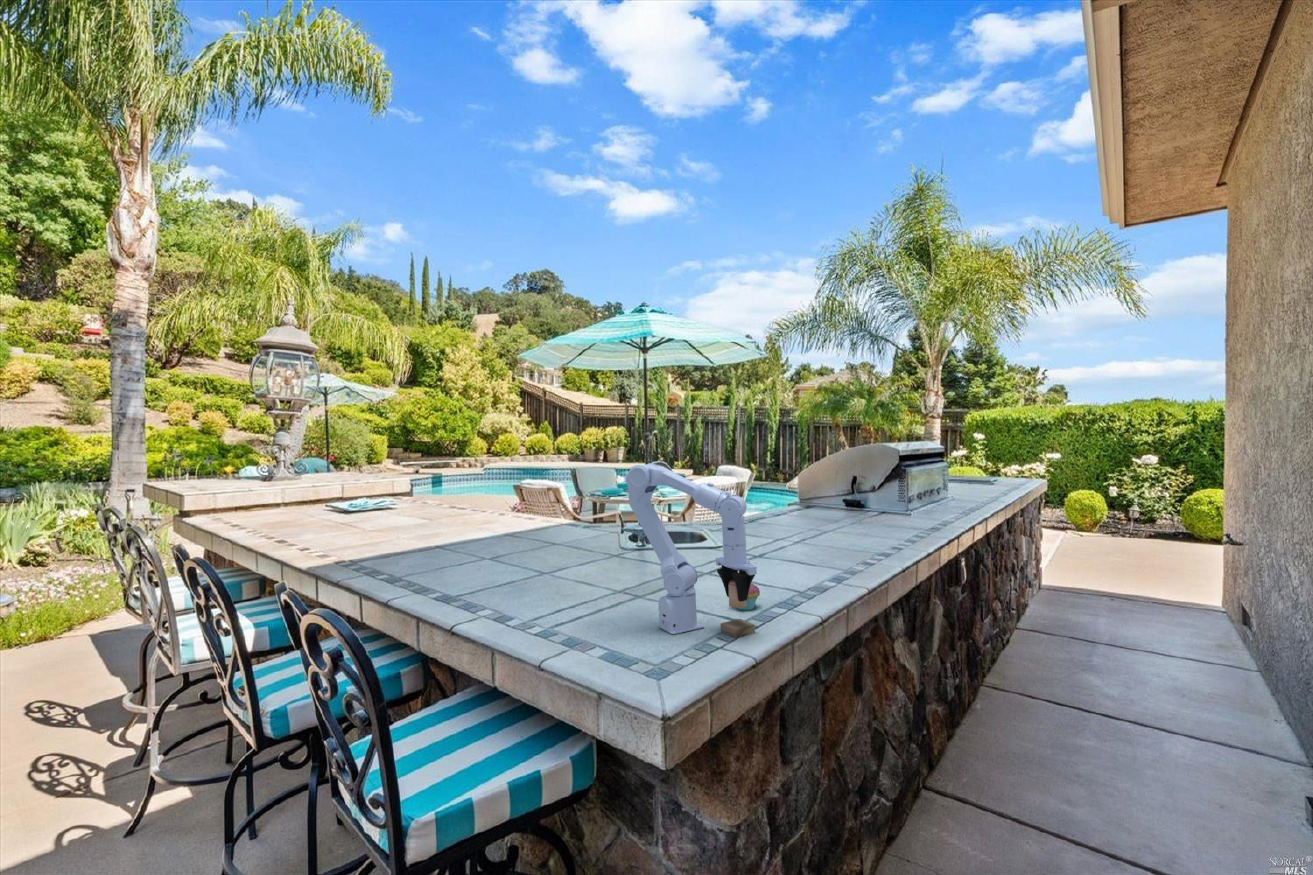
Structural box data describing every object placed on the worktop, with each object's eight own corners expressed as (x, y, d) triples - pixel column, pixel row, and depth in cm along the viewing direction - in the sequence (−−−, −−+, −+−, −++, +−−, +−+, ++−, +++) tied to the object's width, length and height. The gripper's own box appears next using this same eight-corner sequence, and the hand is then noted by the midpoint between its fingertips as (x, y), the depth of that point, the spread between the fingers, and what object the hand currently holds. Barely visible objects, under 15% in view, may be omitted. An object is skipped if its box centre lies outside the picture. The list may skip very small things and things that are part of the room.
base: (735, 637, 140) (734, 629, 140) (721, 631, 145) (720, 623, 145) (754, 632, 143) (754, 624, 143) (740, 626, 148) (739, 618, 148)
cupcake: (751, 613, 158) (749, 570, 158) (724, 609, 163) (722, 567, 163) (765, 605, 165) (763, 563, 165) (739, 601, 170) (737, 561, 170)
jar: (735, 608, 141) (734, 584, 141) (725, 604, 145) (724, 580, 145) (750, 606, 143) (749, 582, 143) (740, 602, 147) (739, 578, 147)
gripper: (765, 546, 140) (768, 602, 140) (730, 538, 152) (732, 589, 152) (742, 550, 136) (744, 607, 136) (708, 541, 149) (710, 594, 149)
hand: (736, 598), depth 144 cm, fingers closed on jar, 4 cm apart
